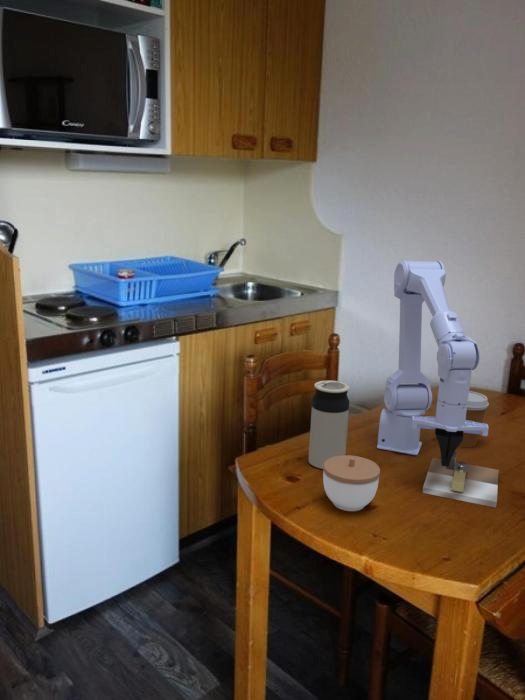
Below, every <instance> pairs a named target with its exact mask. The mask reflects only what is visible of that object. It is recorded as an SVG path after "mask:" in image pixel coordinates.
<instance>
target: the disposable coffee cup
mask: <svg viewBox="0 0 525 700" xmlns="http://www.w3.org/2000/svg"><path fill="white" fill-rule="evenodd" d="M489 404H490V403H489V402H488V397H487V395H484V394H483V393H480V392H476V391H472V390H469V396H468V403H467V411H466V419H465V420H468V421H473V422H478V423H483V421H484V417H485V414H486V409H487V408H488V407H489ZM479 435H480V434H472V433H463V436H464V437H463V440H462V442H461V443H460V445H459V446H458V447H461V448H472V447H476V445H477V443H478V439H479Z"/></svg>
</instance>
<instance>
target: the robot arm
mask: <svg viewBox="0 0 525 700" xmlns="http://www.w3.org/2000/svg"><path fill="white" fill-rule="evenodd" d="M393 276H394V277H393V281H394V282H393V291H394V297H396V298H397V299H399V336H398V338H399V339H398V340H399V341H398V369H397V370H396V371H395V372H394V373H392V374H391V375H390V376H388V377H387V379H386V384H385V388H384V392H383V400H384V404H385V408H384V407H383V408H382V410H381V413H380V416H379V417H380V419H379V424H378V425H379V426H378V435H377V444H376V445H377V446H376V449H380V450H385V451H389V452H397V453H401V454H407V455H412V456H418V455H419V453H420V450H421V448H422V445H423V444H422V443H423V442H422V441H420V437H421V429H425V430H426V429H428V430H434V434H435V438H436V441H437V442H438V443H437V444H438V447H439V450H440V451H439V452H440V459H441V465H442V466H447V467H449V464H450V461H451V458H452V456H453V454H454V452H456V450H457V448H458V447H460V446H459V445H460V443H461V442H462V440H463V437H464V436H463V433H472V434H479V435H481V436H482V437H488V436H489V424H488V423H484V422H482V423H478V422H473V421H468V420H465V419H466V411H467V403H468V396H469V391H470V386H471V379H472V372H473V371H475V370H476V369H477V368H478V366H479V363H480V359H481V358H480V357H481V355H480V349H479V346H478V343H477V342H476V340H473V339H472V338H471V337H470V336H467V335H466V332H465V329H464V327H463V325H462V323H461V319H460V318H459V315H458V313H456V312H455V311H453V310H451V309H450V307H449V303H448V299H447V295H446V291H445V289H444V287H445V283H446V279H447V278H446V276H447V271H446V267H445V265H444V263H443V262H442V261H440V260H437V261H417V260H415V261H414V260H412V261H411V260H405V259H403V260H400V261H399V262H398V263H397V264H396V267H395V270H394V275H393ZM424 302H425V304H426V306H427V308H428V309H429V312H430V314H431V316H432V318H431V319H430V323H429V325H430V328H431V332H432V334H433V337H434V339H435V342H436V345H437V347H438V349H437V352H436V361H437V376H438V377H439V382H438V383H439V384H438V391H437V402H436V408H435V409H436V412H435V416H423V415H425V414H426V411H428V410H429V409H430V407H431V406H432V403H433V393H432V389H431V380H430V379H429V377H427V375H425V374H424V373H423V372H421V365H422V364H421V363H422V362H421V359H422V358H421V357H422V316H423V313H422V312H423V304H424Z"/></svg>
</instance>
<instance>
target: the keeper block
mask: <svg viewBox="0 0 525 700" xmlns="http://www.w3.org/2000/svg"><path fill="white" fill-rule="evenodd" d="M456 460H457V452H456V451H455V452H454V454H453V456H452V458H451V461H450V464H449V467H447V466H446V469H450V470H454V464H455V462H457V461H456Z"/></svg>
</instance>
